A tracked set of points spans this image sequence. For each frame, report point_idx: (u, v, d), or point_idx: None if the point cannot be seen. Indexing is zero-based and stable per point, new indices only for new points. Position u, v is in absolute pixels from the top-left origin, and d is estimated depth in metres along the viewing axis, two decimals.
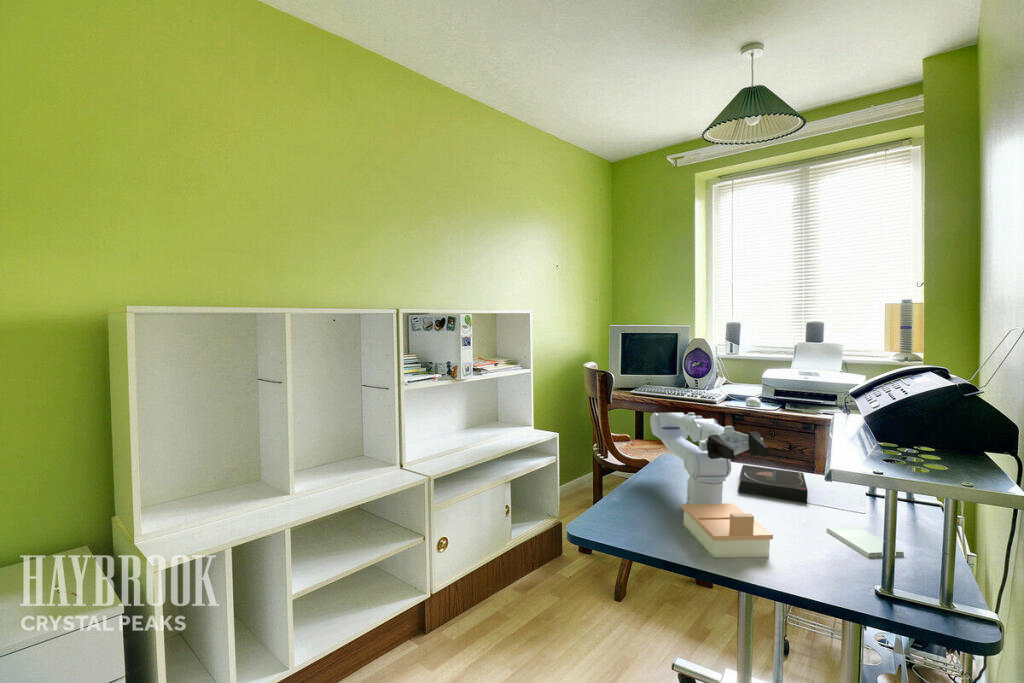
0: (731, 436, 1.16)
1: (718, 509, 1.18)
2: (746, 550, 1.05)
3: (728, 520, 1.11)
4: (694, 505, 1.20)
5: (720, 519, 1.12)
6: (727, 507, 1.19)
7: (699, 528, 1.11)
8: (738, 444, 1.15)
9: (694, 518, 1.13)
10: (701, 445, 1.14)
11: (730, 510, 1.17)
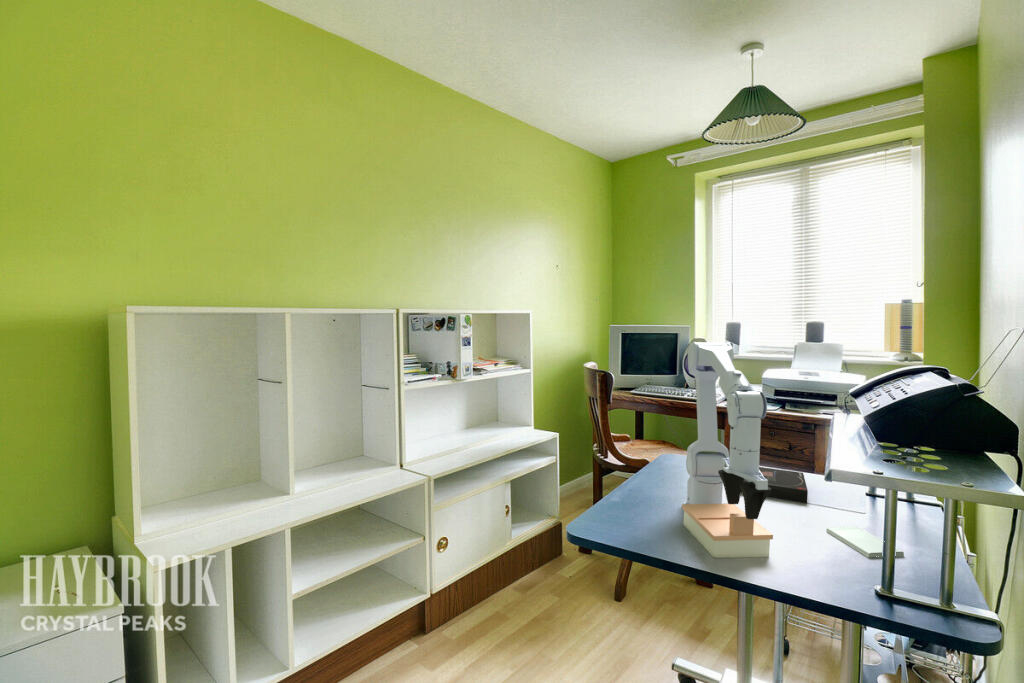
0: None
1: (718, 509, 1.18)
2: (746, 550, 1.05)
3: (728, 520, 1.11)
4: (694, 505, 1.20)
5: (720, 519, 1.12)
6: (727, 507, 1.19)
7: (699, 528, 1.11)
8: None
9: (694, 518, 1.13)
10: None
11: (730, 510, 1.17)
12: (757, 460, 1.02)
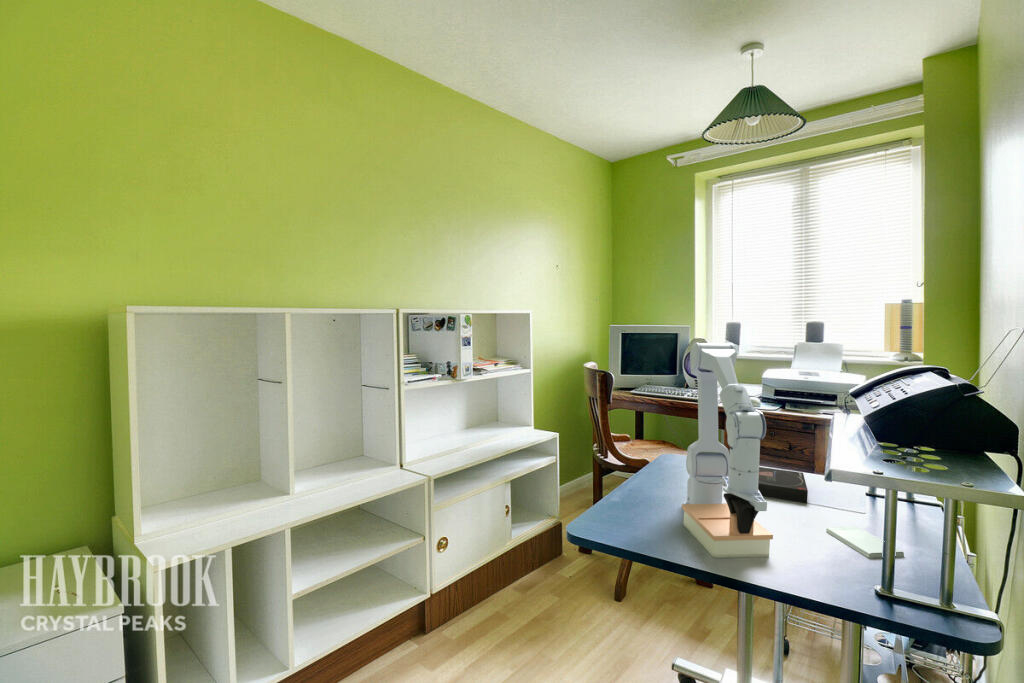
0: None
1: (718, 509, 1.18)
2: (746, 550, 1.05)
3: (728, 520, 1.11)
4: (694, 505, 1.20)
5: (720, 519, 1.12)
6: (727, 507, 1.19)
7: (699, 528, 1.11)
8: None
9: (694, 518, 1.13)
10: None
11: None
12: (756, 480, 1.02)
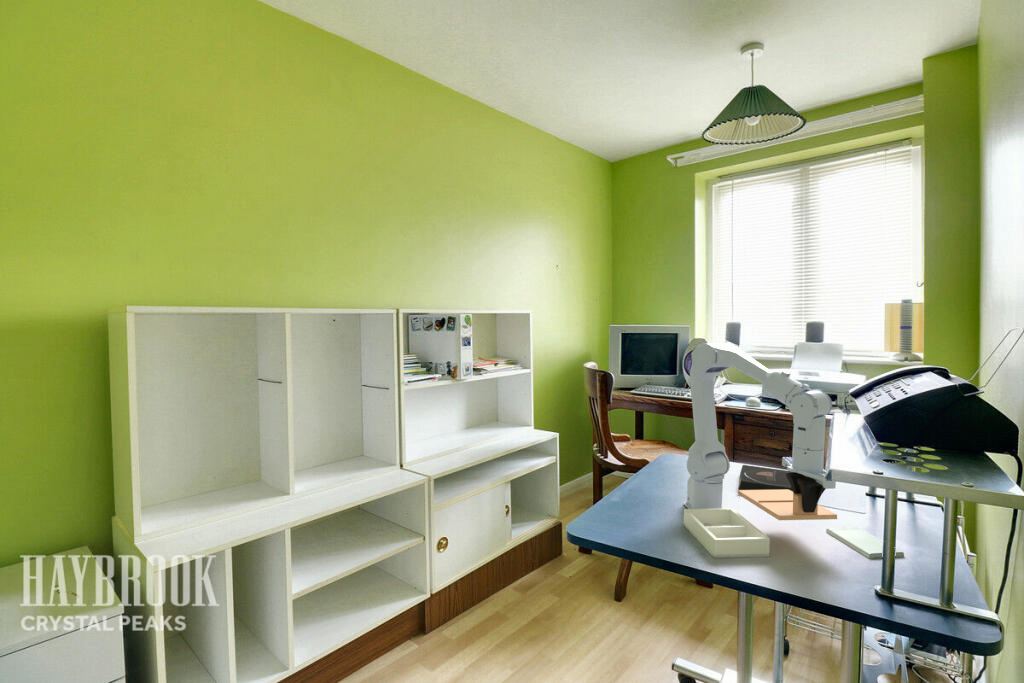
0: None
1: (775, 494, 1.18)
2: (746, 550, 1.05)
3: (788, 503, 1.12)
4: (750, 491, 1.20)
5: (780, 502, 1.12)
6: (784, 492, 1.19)
7: (699, 528, 1.11)
8: None
9: (754, 501, 1.14)
10: None
11: (787, 495, 1.17)
12: (822, 459, 1.02)
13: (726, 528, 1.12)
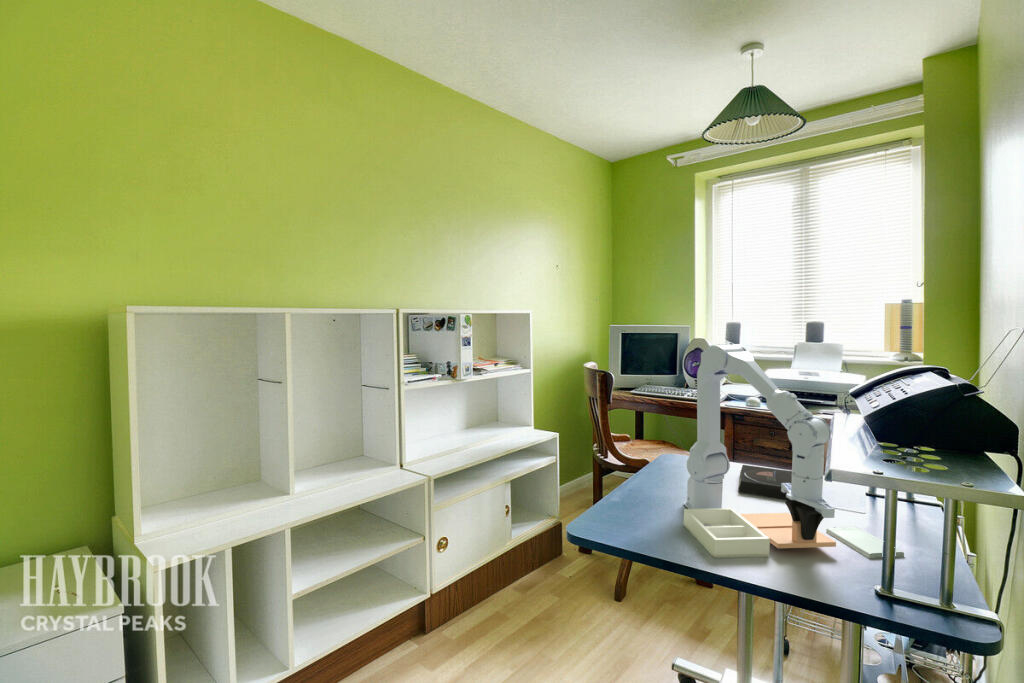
0: None
1: (774, 518, 1.19)
2: (746, 550, 1.05)
3: (787, 528, 1.12)
4: (749, 515, 1.21)
5: (779, 528, 1.13)
6: (783, 516, 1.20)
7: (699, 528, 1.11)
8: None
9: None
10: None
11: (786, 519, 1.18)
12: (821, 487, 1.03)
13: (726, 528, 1.12)
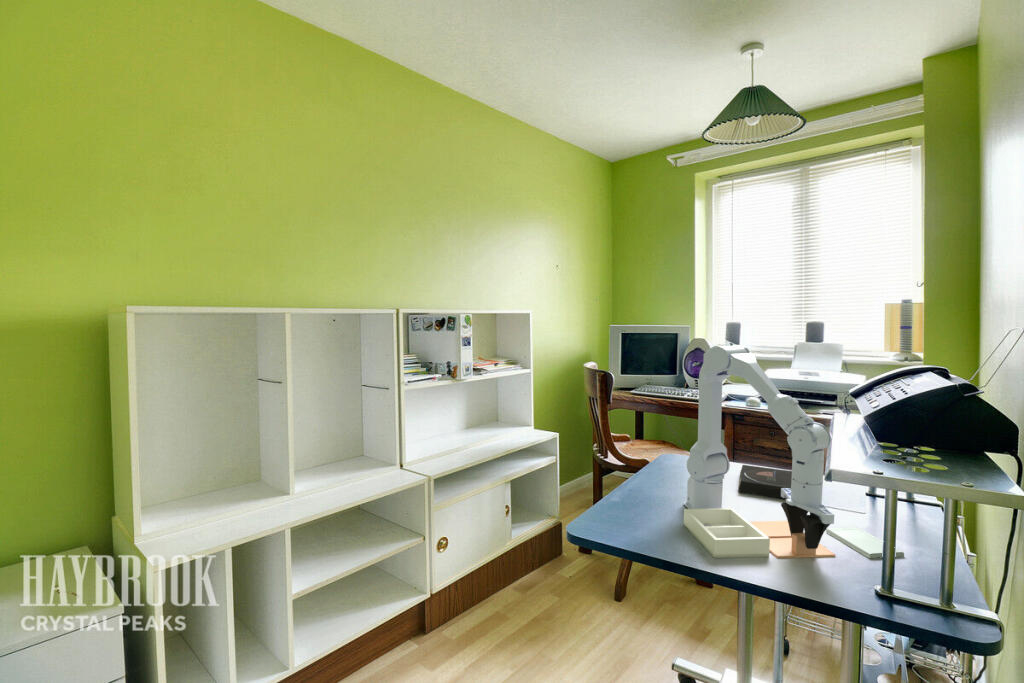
0: None
1: (774, 527, 1.19)
2: (746, 550, 1.05)
3: (787, 539, 1.12)
4: None
5: (779, 538, 1.13)
6: (782, 525, 1.20)
7: (699, 528, 1.11)
8: None
9: None
10: None
11: (786, 528, 1.18)
12: (821, 493, 1.03)
13: (726, 528, 1.12)
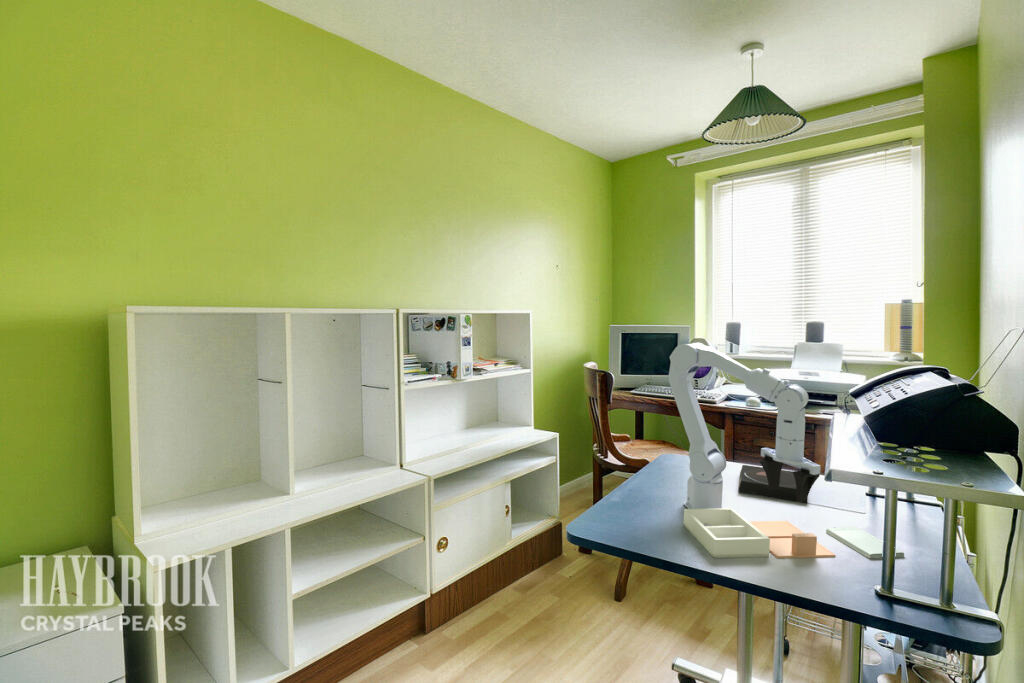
0: None
1: (774, 526, 1.19)
2: (746, 550, 1.05)
3: (787, 539, 1.12)
4: None
5: (779, 538, 1.13)
6: (783, 525, 1.20)
7: (699, 528, 1.11)
8: None
9: None
10: None
11: (786, 528, 1.18)
12: (803, 448, 1.13)
13: (726, 528, 1.12)
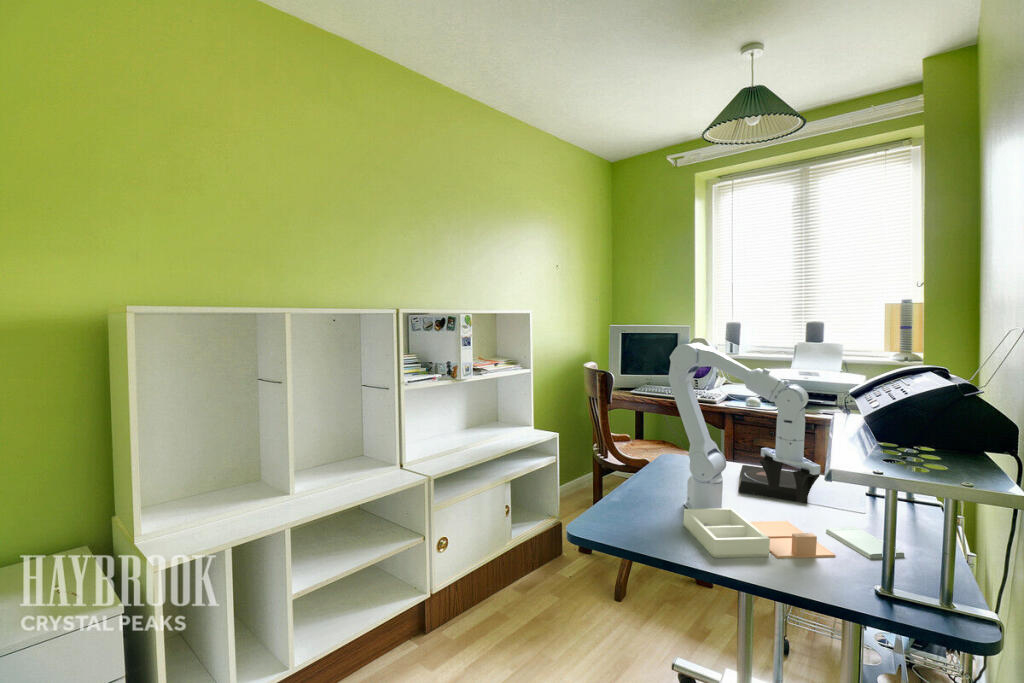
0: None
1: (774, 527, 1.19)
2: (746, 550, 1.05)
3: (787, 539, 1.12)
4: None
5: (779, 538, 1.13)
6: (783, 525, 1.20)
7: (699, 528, 1.11)
8: None
9: None
10: None
11: (786, 528, 1.18)
12: (803, 448, 1.13)
13: (726, 528, 1.12)
